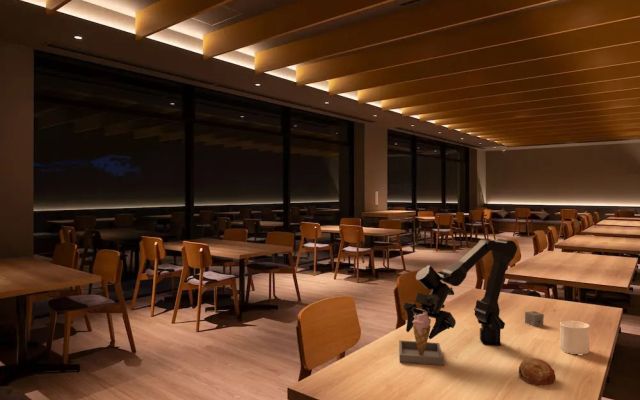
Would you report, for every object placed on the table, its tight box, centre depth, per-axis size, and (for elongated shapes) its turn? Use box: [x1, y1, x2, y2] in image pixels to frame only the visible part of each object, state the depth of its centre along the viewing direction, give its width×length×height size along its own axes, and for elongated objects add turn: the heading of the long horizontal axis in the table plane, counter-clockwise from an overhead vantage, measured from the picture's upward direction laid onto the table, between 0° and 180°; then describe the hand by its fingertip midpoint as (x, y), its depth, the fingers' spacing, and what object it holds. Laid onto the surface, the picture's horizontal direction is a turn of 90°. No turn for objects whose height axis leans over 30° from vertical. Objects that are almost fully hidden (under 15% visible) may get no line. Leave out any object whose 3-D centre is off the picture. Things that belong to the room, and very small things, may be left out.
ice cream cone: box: [412, 312, 432, 355], centre depth 148 cm, size 7×6×15 cm
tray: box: [398, 340, 444, 367], centre depth 148 cm, size 14×14×2 cm
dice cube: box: [524, 310, 544, 327], centre depth 185 cm, size 5×5×5 cm
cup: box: [559, 319, 591, 355], centre depth 154 cm, size 10×10×10 cm
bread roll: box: [517, 357, 556, 387], centre depth 131 cm, size 10×10×8 cm
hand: (418, 334), depth 147 cm, fingers open, 9 cm apart
